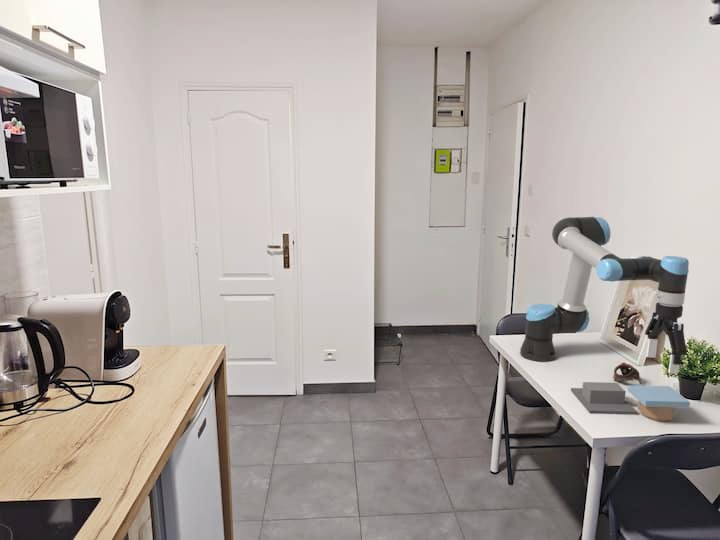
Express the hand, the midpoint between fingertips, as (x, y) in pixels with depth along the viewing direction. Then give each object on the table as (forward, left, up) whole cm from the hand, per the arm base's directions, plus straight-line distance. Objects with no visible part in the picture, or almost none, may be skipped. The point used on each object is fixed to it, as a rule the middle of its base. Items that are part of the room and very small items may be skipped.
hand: (661, 364), depth 162 cm
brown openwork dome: (-28, +3, -19) cm, 34 cm away
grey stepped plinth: (-9, -14, -18) cm, 25 cm away
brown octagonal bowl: (0, 0, -18) cm, 18 cm away
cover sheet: (0, 0, -12) cm, 12 cm away
